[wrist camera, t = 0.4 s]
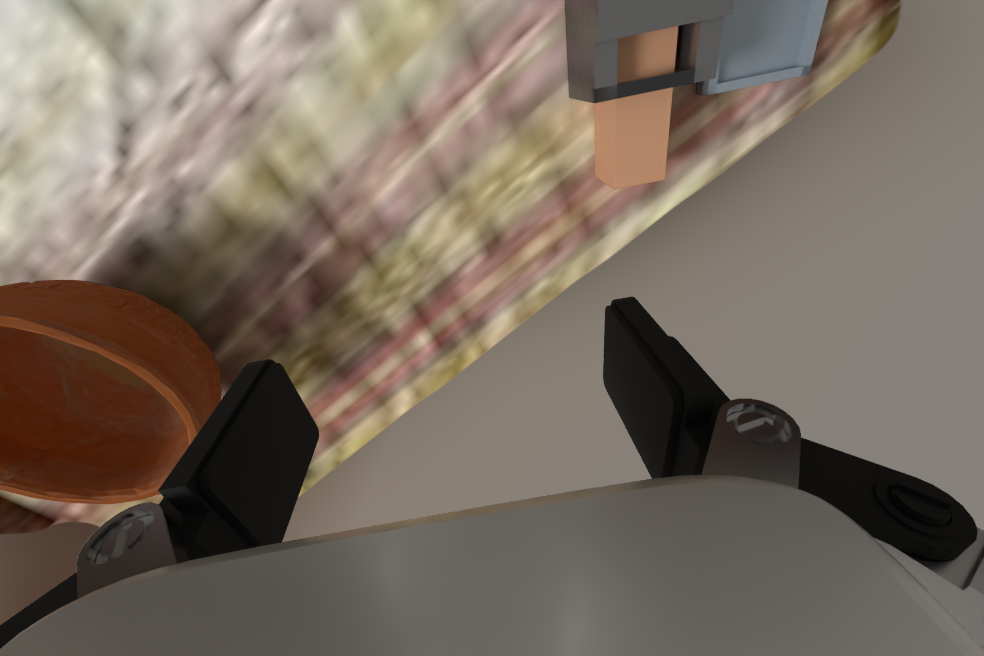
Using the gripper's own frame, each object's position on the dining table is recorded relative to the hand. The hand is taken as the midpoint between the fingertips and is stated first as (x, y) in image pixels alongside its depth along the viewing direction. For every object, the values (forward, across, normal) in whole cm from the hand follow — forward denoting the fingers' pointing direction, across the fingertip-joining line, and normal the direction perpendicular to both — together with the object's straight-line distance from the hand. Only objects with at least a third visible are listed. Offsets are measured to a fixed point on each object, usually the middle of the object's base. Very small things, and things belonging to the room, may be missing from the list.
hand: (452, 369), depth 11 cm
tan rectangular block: (+34, -18, -2) cm, 39 cm away
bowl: (+35, +40, +14) cm, 55 cm away
